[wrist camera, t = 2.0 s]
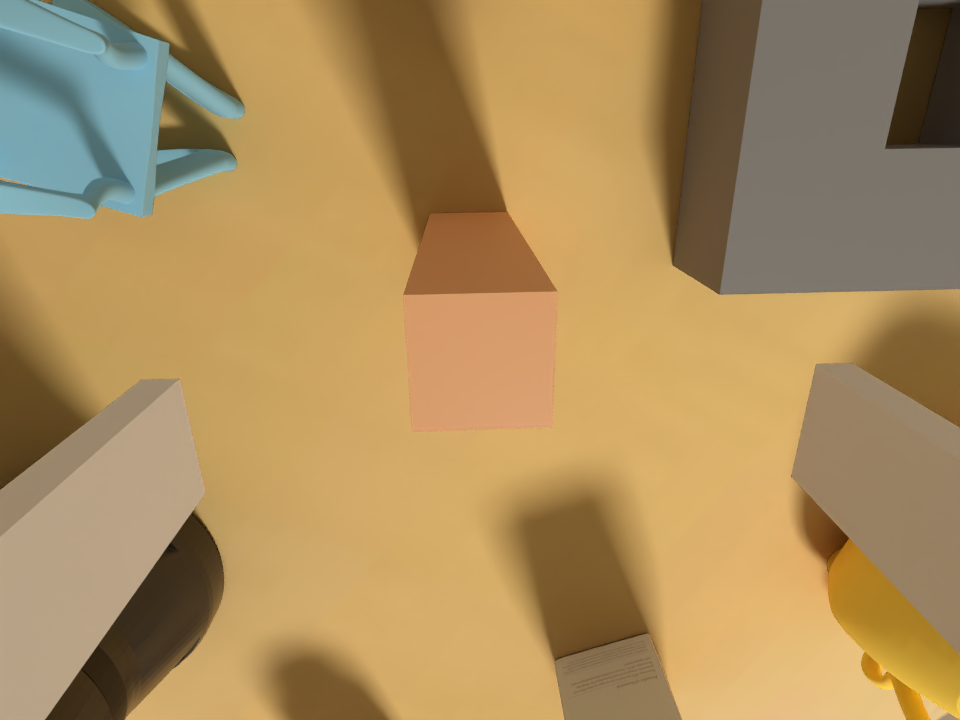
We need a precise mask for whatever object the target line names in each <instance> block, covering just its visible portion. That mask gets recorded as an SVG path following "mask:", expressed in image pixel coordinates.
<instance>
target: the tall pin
mask: <svg viewBox="0 0 960 720" xmlns="http://www.w3.org/2000/svg"><path fill="white" fill-rule="evenodd" d="M403 298H404V314H405V329H406V344H407V360H408V375H409V390H410V406H411V421H412V432H421V431H454V430H487V429H521V428H552V425H553V398H554V371H555V344H556V318H557V290H556V288H555V287H554V285H553V284H552V282H551V280H550V279H549V277H548V276H547V274H546V272H545V271H544V269H543V268H542V266H541V264H540V263H539V261H538V260H537V258H536V256H535V255H534V253H533V252H532V250H531V249H530V247H529V245H528V244H527V242H526V241H525V239H524V237H523V236H522V234H521V233H520V231H519V229H518V228H517V226H516V225H515V223H514V221H513V220H512V218H511V217H510V215H509V214H508V212H470V213H430V215H429V218H428V221H427V225H426V228H425V231H424V234H423V237H422V240H421V243H420V246H419V249H418V252H417V255H416V258H415V261H414V264H413V267H412V270H411V273H410V276H409V279H408V282H407V285H406V288H405V291H404V294H403Z"/></svg>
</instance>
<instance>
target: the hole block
mask: <svg viewBox="0 0 960 720" xmlns="http://www.w3.org/2000/svg"><path fill="white" fill-rule="evenodd" d="M918 8H953V9H952V13H951V17H950V21H949V25H948V29H947V33H946V37H945V41H944V45H943V49H942V53H941V57H940V61H939V65H938V69H937V73H936V77H935V81H934V85H933V89H932V93H931V97H930V101H929V105H928V108H927V112H926V116H925V120H924V124H923V128H922V132H921V136H920V140H919V144H886V142H887V137H888V133H889V129H890V125H891V120H892V116H893V112H894V107H895V103H896V99H897V94H898V90H899V86H900V82H901V77H902V73H903V69H904V64H905V60H906V56H907V51H908V47H909V43H910V39H911V34H912V30H913V26H914V21H915V17H916V13H917V9H918ZM673 266H675V267H676V268H678V269H679V270H681V271H683V272H684V273H686V274H687V275H689V276H691V277H692V278H694V279H695V280H697V281H699V282H700V283H702V284H703V285H705V286H707V287H708V288H710V289H711V290H713V291H715V292H716V293H718V294H720V295H724V294H767V293H809V292H852V291H895V290H937V289H960V0H702V8H701V17H700V26H699V35H698V44H697V53H696V62H695V71H694V80H693V89H692V98H691V107H690V116H689V125H688V133H687V142H686V151H685V160H684V169H683V178H682V187H681V196H680V205H679V214H678V223H677V232H676V241H675V250H674V258H673Z"/></svg>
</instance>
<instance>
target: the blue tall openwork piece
mask: <svg viewBox="0 0 960 720" xmlns="http://www.w3.org/2000/svg"><path fill="white" fill-rule="evenodd" d="M169 46H170V43H167V42H164V41H161V40H158V39H155V38H152V37H149V36H146V35H143V34H140V33H137V32H135V31H133V30H132V29H131V28H129V27H128V26H126V25H125V24H124V23H122V22H121V21H119V20H118V19H116V18H115V17H113V16H112V15H110V14H109V13H107V12H106V11H104V10H103V9H102V8H100V7H99V6H97V5H95V4H93V3H92V2H90V1H88V0H52V4H49V3H46V2H43V1H40V0H0V177H1V178H5V179H9V180H12V181H16V182H20V183H24V184H28V185H31V186H27V185H22V184H16V183H11V182H6V181H2V180H0V214H24V215H56V216H67V217H75V218H84V219H87V218H92V217H93V216H94V215H95V213H96V212H97V210H98V209H99V208H100V206H104V207H107V208H111V209H114V210H118V211H121V212H125V213H128V214H132V215H135V216H139V217H145V216H148V215H152V214H153V204H154V197H155V196H158V195H160V194H162V193H164V192H167V191H170V190H172V189H175V188H177V187H180V186H183V185H185V184H188V183H191V182H194V181H196V180H199V179H202V178H205V177H208V176H210V175H213V174H216V173H219V172H224V171H232V170H234V169H235V168H236V166H237V161H236V159H235V157H234V156H233V155H232V154H230V153H228V152H225V151H222V150H214V149H167V150H157V146H158V136H159V126H160V116H161V110H162V103H163V97H164V90H165V84H166V82H168V83H169V84H170V85H172V86H173V87H175V88H176V89H177V90H179V91H180V92H182V93H183V94H184V95H186V96H187V97H188V98H190V99H191V100H193V101H195V102H196V103H198V104H199V105H201V106H202V107H204V108H205V109H207V110H208V111H210V112H211V113H213V114H216V115H218V116H221V117H225V118H233V119H237V118H241V117H242V116H243V115H244V112H245V110H244V106H243V104H242V103H241V102H240V101H239V100H238V99H236V98H234V97H232V96H231V95H229V94H227V93H225V92H224V91H222V90H220V89H218V88H217V87H215V86H213V85H212V84H210V83H209V82H207V81H205V80H204V79H202V78H200V77H199V76H198V75H196V74H195V73H194V72H193V71H191V70H190V69H189V68H187V67H186V66H185V65H183V64H182V63H181V62H179V61H178V60H177V59H176V58H174V57H173V56H172V55H171V54H169ZM33 186H35V187H33Z"/></svg>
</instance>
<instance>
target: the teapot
mask: <svg viewBox="0 0 960 720" xmlns="http://www.w3.org/2000/svg"><path fill="white" fill-rule="evenodd" d="M827 570H828V571H829V574H828V596H829V603H830V607H831V610H832V613H833V615H834V617H835V618H836V620H837V621H838V623H839V624H840V625H841V627H842V628H843V629H844V630H845V632H846V633H847V634H848V635H849V636H850V637H851V638H852V639H853V640H854V641H855V642H856V643H857V644H858V645H859V646H860V647H861V648H862V649H863V650H864V651H865V652H864V654H863V657H862V660H861V666H862V670H863V672H864V674H865V676H866V677H867V678H868V679H869V680H870V681H871V682H872V683H873V684H874V685H876V686H877V687H879V688H881V689H887V690H889V689H893V688H894V690H895V693H896V695H897V698H898V701H899V703H900V706H901V708H902V711H903V713H904V715H905V718H906V720H930V718H929V716H928V714H927V711H926V709H925V707H924V704H923V702H922V699H921V697H920V695H921V696H923V697H925V698H926V699H928V700H929V701H931V702H933V703H934V704H936V705H937V706H939V707H940V708H942V709H944V710H945V711H947V712H949V713H950V714H952V715H953V716H955V717H957V718H959V719H960V655H959V654H958V653H957V652H956V651H955V649H954V648H953V647H952V646H951V645H950V644H949V643H948V642H947V641H946V640H945V639H944V638H943V637H942V636H941V635H940V634H939V633H938V631H937V630H936V629H935V628H934V627H933V626H932V625H931V624H930V623H929V622H928V621H927V620H926V619H925V618H924V617H923V616H922V615H921V614H920V612H919V611H918V610H917V609H916V608H915V607H914V606H913V605H912V604H911V603H910V602H909V601H908V600H907V599H906V598H905V597H904V596H903V594H902V593H901V592H900V591H899V590H898V589H897V588H896V587H895V586H894V585H893V584H892V583H891V582H890V581H889V580H888V579H887V578H886V576H885V575H884V574H883V573H882V572H881V571H880V570H879V569H878V568H877V567H876V566H875V565H874V564H873V563H872V562H871V561H870V560H869V559H868V557H867V556H866V555H865V554H864V553H863V552H862V551H861V550H860V549H859V548H858V547H857V546H856V545H855V544H854V543H853V542H852V541H851V539H850V538H849V539H848V540H847V542H846V543H845V545H844V546H843V548H842V549H839V550H837V551H836V552H834V553H833V554H832V555H831V556H830V557H829V559H828V561H827ZM882 668H884V669H885V670H887V672H886V673H885V675H883V676H882Z"/></svg>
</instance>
